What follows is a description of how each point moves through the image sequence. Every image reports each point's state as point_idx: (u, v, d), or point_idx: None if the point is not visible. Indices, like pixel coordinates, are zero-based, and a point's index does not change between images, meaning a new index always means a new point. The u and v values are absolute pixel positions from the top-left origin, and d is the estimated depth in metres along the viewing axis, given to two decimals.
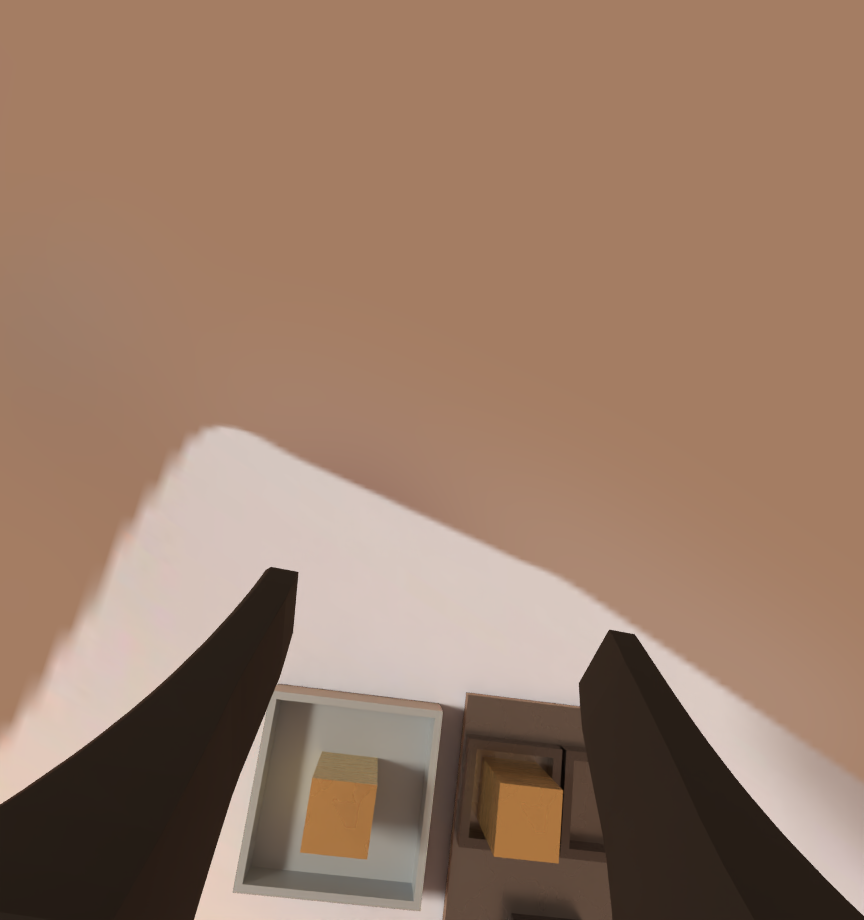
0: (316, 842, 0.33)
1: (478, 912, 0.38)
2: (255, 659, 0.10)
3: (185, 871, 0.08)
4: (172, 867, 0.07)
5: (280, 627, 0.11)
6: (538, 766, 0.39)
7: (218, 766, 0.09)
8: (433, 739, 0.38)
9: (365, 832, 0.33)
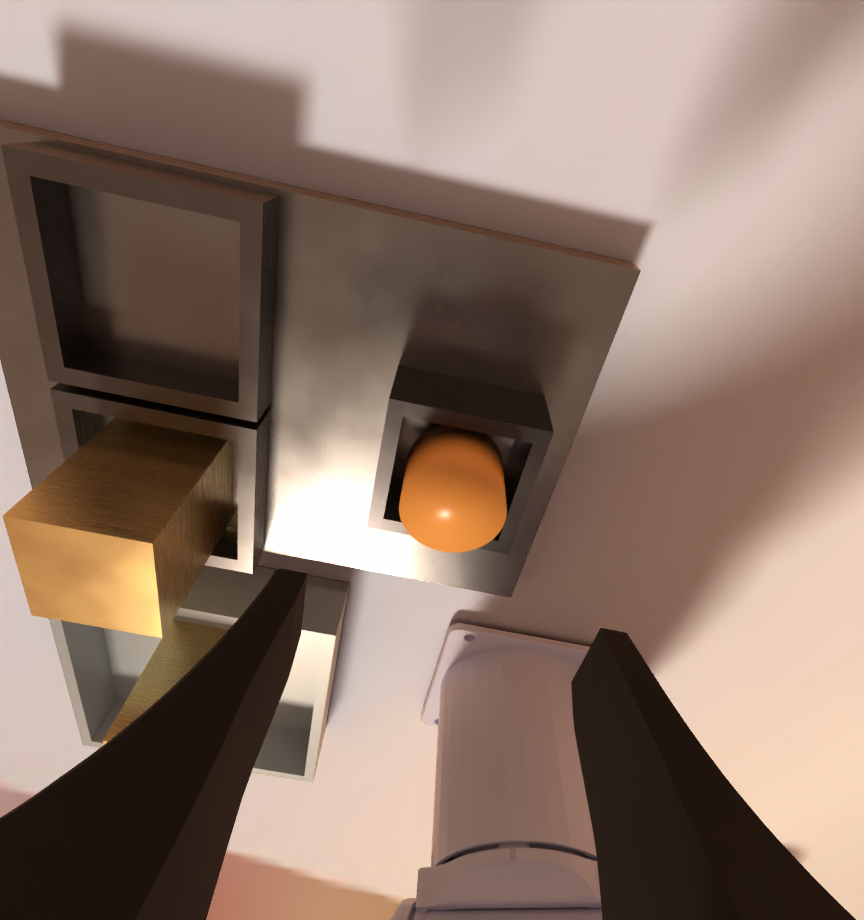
0: None
1: (372, 530, 0.22)
2: (266, 661, 0.10)
3: (198, 873, 0.08)
4: (187, 869, 0.07)
5: (290, 629, 0.11)
6: None
7: (230, 768, 0.09)
8: None
9: None
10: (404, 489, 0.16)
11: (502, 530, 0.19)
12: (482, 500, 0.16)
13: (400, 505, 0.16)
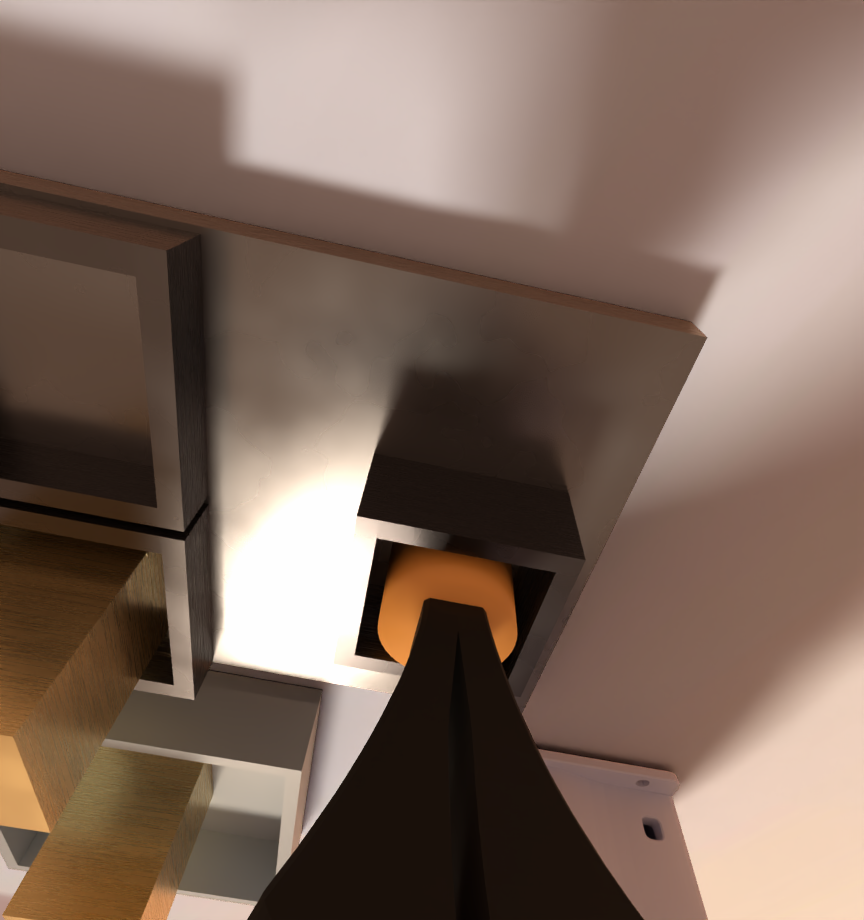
0: None
1: None
2: (449, 693, 0.10)
3: None
4: None
5: None
6: None
7: None
8: None
9: None
10: (384, 606, 0.12)
11: (512, 670, 0.14)
12: None
13: (379, 625, 0.13)
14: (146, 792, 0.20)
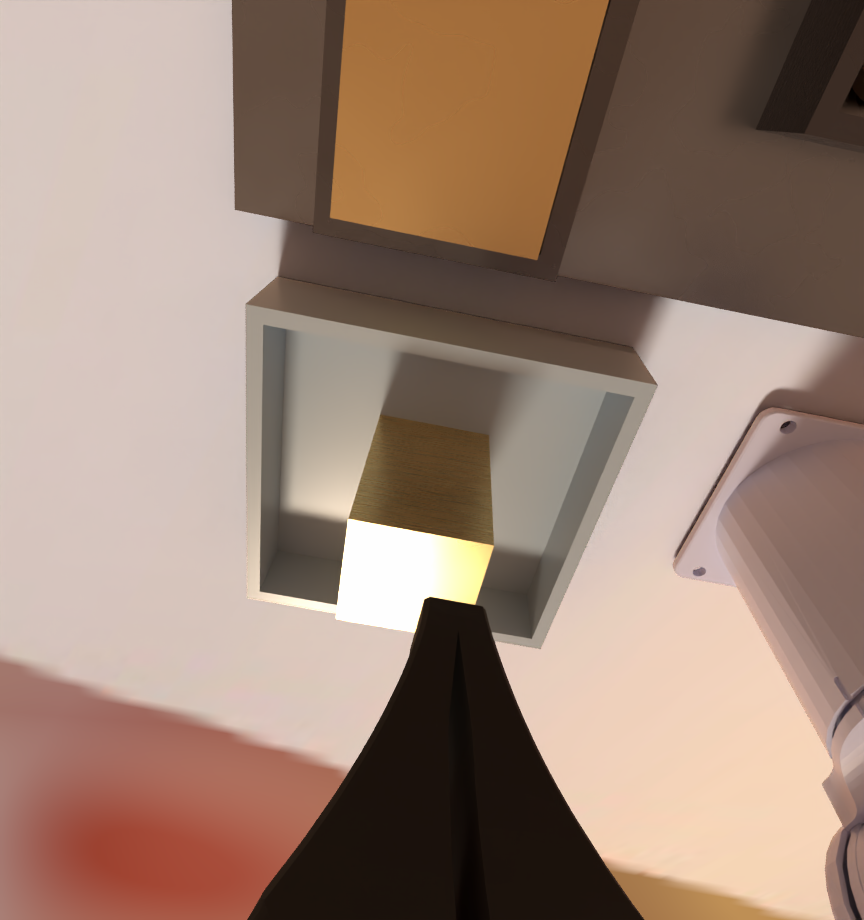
0: None
1: (720, 223, 0.15)
2: (449, 692, 0.10)
3: None
4: None
5: None
6: None
7: None
8: (310, 331, 0.16)
9: (441, 544, 0.15)
10: None
11: None
12: None
13: None
14: (443, 457, 0.18)
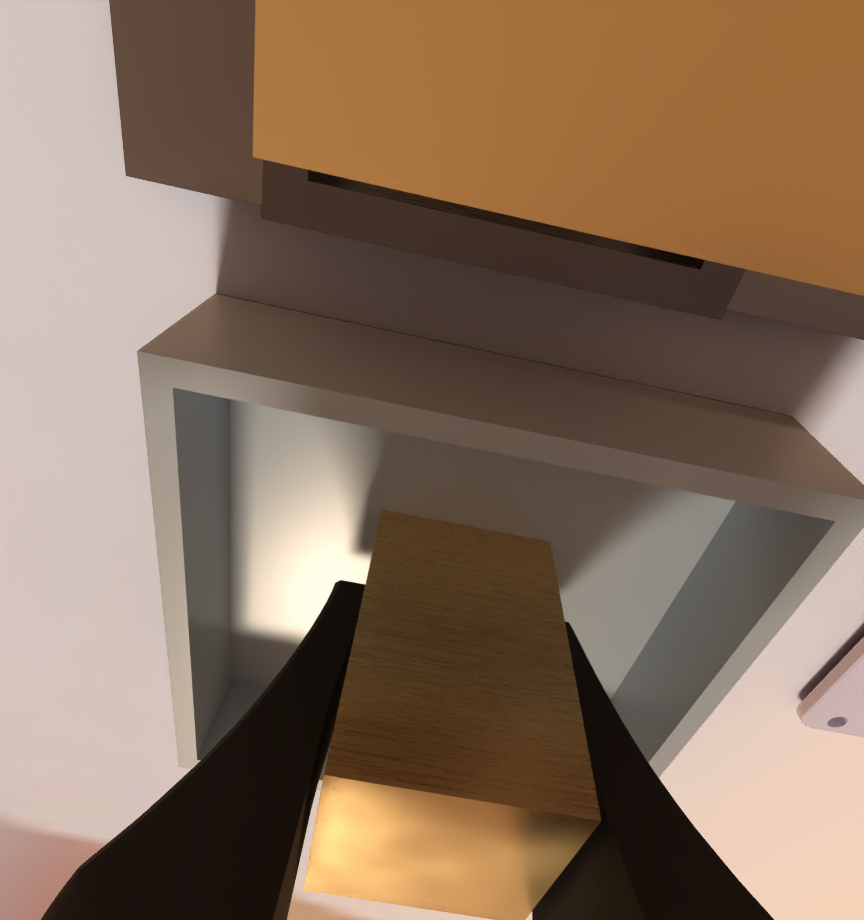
0: (501, 899, 0.10)
1: None
2: (340, 673, 0.10)
3: (289, 887, 0.08)
4: (286, 884, 0.07)
5: None
6: None
7: (312, 781, 0.09)
8: (260, 400, 0.09)
9: (501, 815, 0.08)
10: None
11: None
12: None
13: None
14: (487, 594, 0.11)
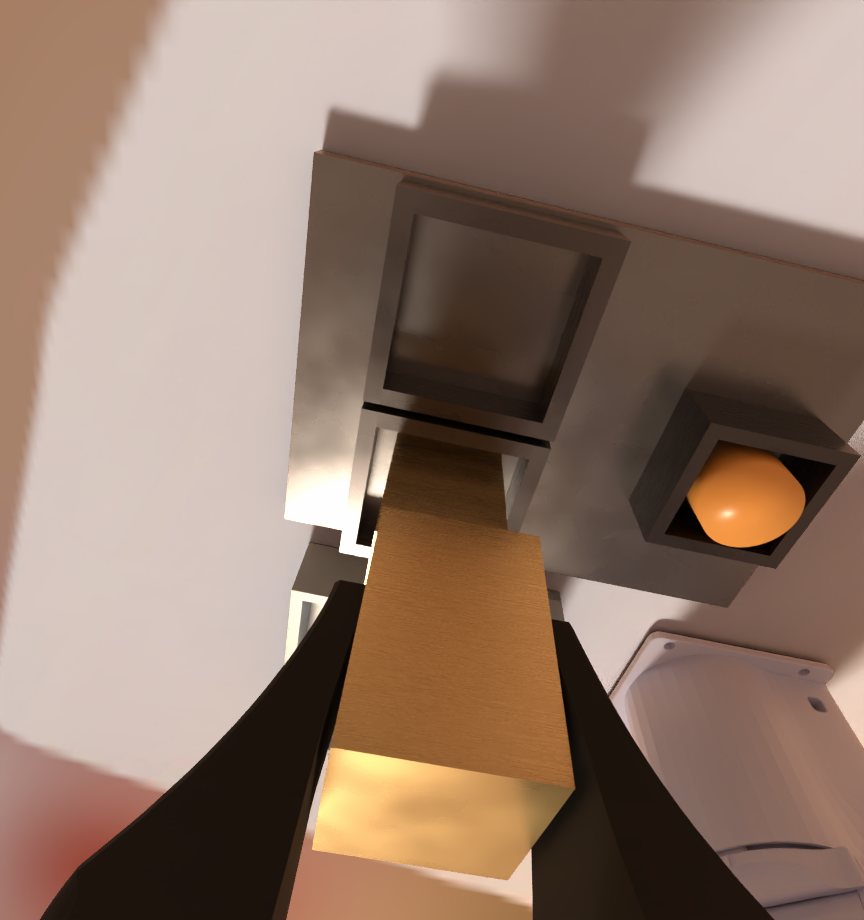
0: (489, 858, 0.11)
1: (610, 543, 0.23)
2: (340, 674, 0.10)
3: (288, 887, 0.08)
4: (285, 884, 0.07)
5: None
6: (394, 446, 0.20)
7: (312, 781, 0.09)
8: None
9: (487, 783, 0.09)
10: (713, 489, 0.18)
11: (777, 546, 0.20)
12: (784, 500, 0.18)
13: (705, 504, 0.18)
14: (479, 586, 0.12)
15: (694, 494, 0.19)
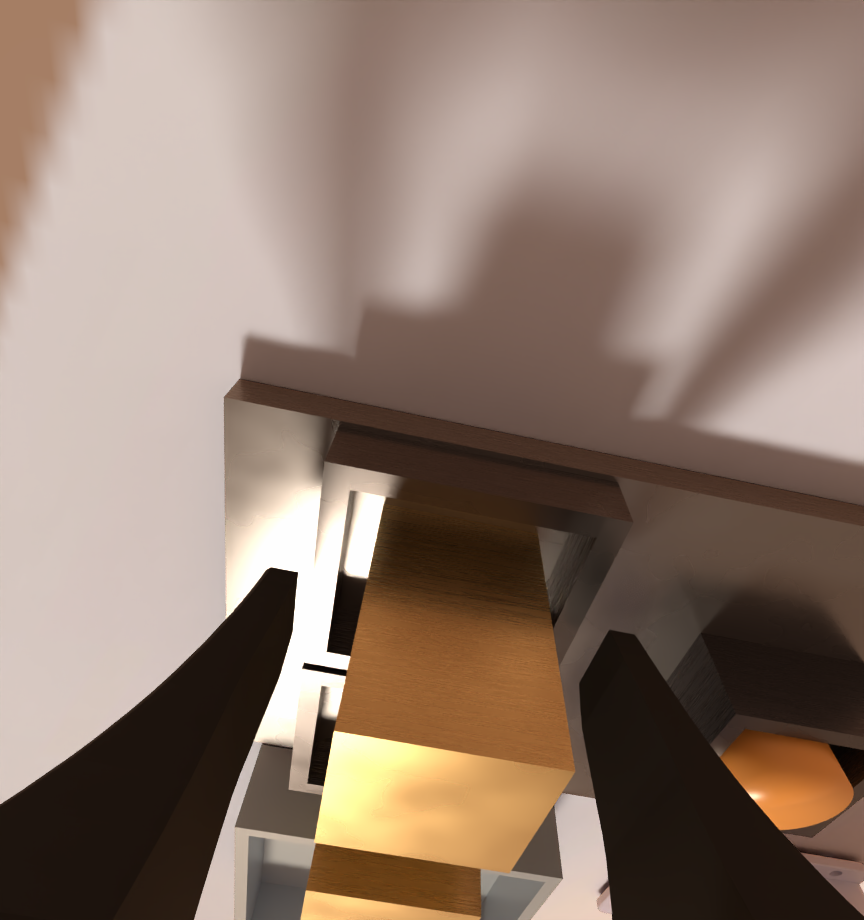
0: (491, 849, 0.11)
1: None
2: (255, 658, 0.10)
3: (185, 871, 0.08)
4: (172, 867, 0.07)
5: (280, 627, 0.11)
6: None
7: (218, 766, 0.09)
8: (286, 839, 0.20)
9: (489, 767, 0.09)
10: (738, 780, 0.14)
11: None
12: (827, 794, 0.14)
13: None
14: (478, 580, 0.12)
15: None
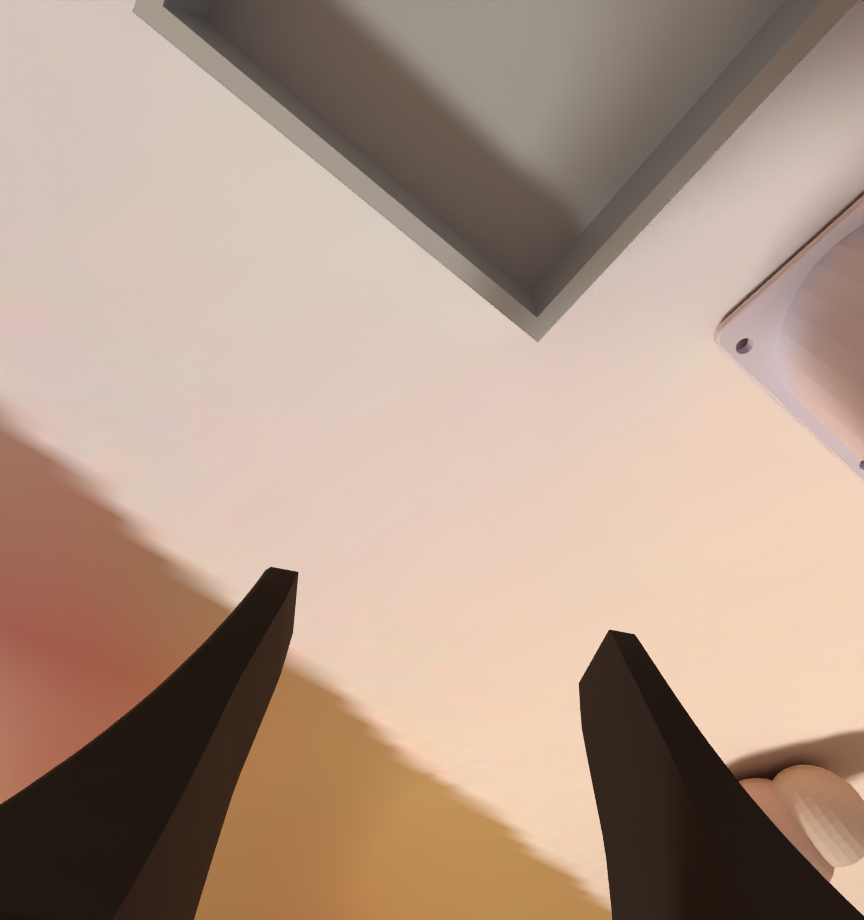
0: None
1: None
2: (255, 659, 0.10)
3: (185, 871, 0.08)
4: (172, 867, 0.07)
5: (280, 627, 0.11)
6: None
7: (218, 766, 0.09)
8: None
9: None
10: None
11: None
12: None
13: None
14: None
15: None
